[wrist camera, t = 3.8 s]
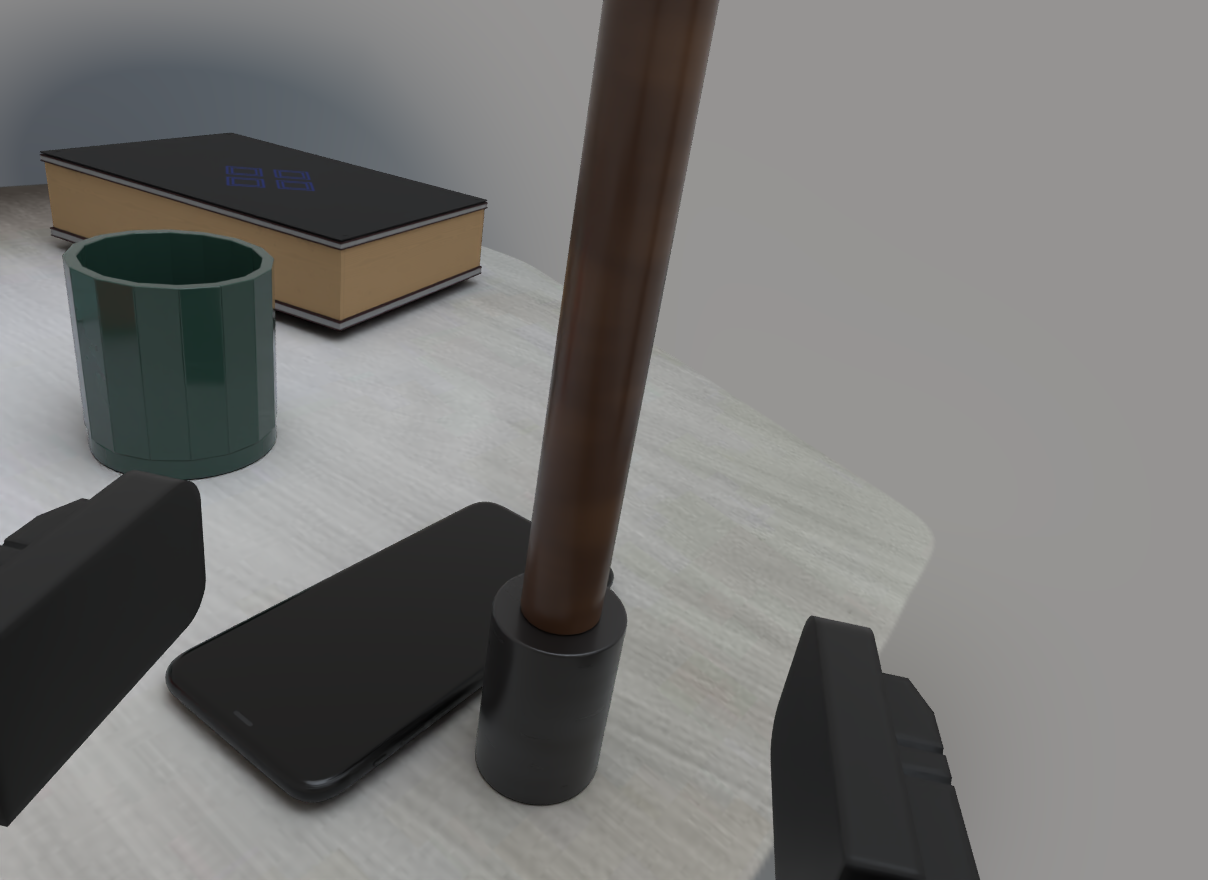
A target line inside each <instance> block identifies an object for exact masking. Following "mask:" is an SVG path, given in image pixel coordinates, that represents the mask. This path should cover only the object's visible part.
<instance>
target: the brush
mask: <svg viewBox="0 0 1208 880" xmlns="http://www.w3.org/2000/svg"><path fill="white" fill-rule="evenodd" d="M718 3H719V0H603V5H602V14H601V20H600V27H599V35H598V42H597V49H596V56H595V63H594V71H593V78H592V85H591V93H590V100H589V107H588V115H587V122H586V130H585V136H584V144H583V151H582V158H581V165H580V173H579V180H578V187H577V195H576V202H575V209H574V216H573V224H572V231H571V238H570V245H569V253H568V260H567V267H566V274H565V282H564V289H563V296H562V303H561V311H560V318H559V325H558V333H557V340H556V347H555V354H554V362H553V369H552V376H551V384H550V391H549V398H548V405H547V413H546V420H545V427H544V434H543V442H542V449H541V456H540V464H539V471H538V478H537V485H536V493H535V500H534V507H533V514H532V522H531V529H530V536H529V544H528V551H527V558H526V565H525V573H523V574H521V575H518V576H516V577H514V578H512V579H510V580H509V581H507V582H506V583H505V584H504V585H503V586H502V587H501V588H500V589H499V590H498V592H497V594H496V595H495V597H494V600H493V605H492V613H491V622H490V630H489V639H488V647H487V655H486V664H485V672H484V680H483V689H482V697H481V706H480V714H479V722H478V731H477V739H476V748H475V756H476V762H477V765H478V768H479V770H480V772H481V774H482V775H483V777H484V779H485V780H486V781H487V782H488V783H489V784H490V785H491V786H492V787H493V788H494V789H495V790H497V791H498V792H499V793H501V794H503V795H504V796H506V797H508V798H511V799H513V800H515V801H519V802H522V803H527V804H536V805H545V804H554V803H558V802H562V801H565V800H567V799H570V798H572V797H573V796H575V795H577V794H578V793H580V792H581V791H582V790H583V789H584V788H585V787H586V786H587V785H588V784H589V783H590V781H591V780H592V778H593V776H594V774H595V772H596V769H597V765H598V760H599V755H600V750H601V746H602V741H603V736H604V731H605V727H606V722H607V717H608V712H609V708H610V703H611V698H612V693H613V689H614V684H615V679H616V675H617V670H618V665H619V660H620V656H621V651H622V646H623V641H624V637H625V632H626V627H627V614H626V611H625V608H624V606H623V604H622V602H621V600H620V599H619V598H618V596H617V595H616V594H615V593H614V592H613V591H612V590H610V589H609V588H608V587H607V582H608V576H609V571H610V566H611V561H612V556H613V550H614V545H615V540H616V535H617V530H618V524H619V519H620V514H621V509H622V504H623V498H624V493H625V488H626V483H627V478H628V472H629V467H630V462H631V457H632V452H633V446H634V441H635V436H636V431H637V426H638V420H639V415H640V410H641V405H642V400H643V394H644V389H645V384H646V379H647V374H648V368H649V363H650V358H651V353H652V348H653V342H654V337H655V332H656V327H657V322H658V316H659V311H660V306H661V301H662V296H663V290H664V285H665V280H666V275H667V270H668V264H669V259H670V254H671V249H672V243H673V238H674V233H675V227H676V223H677V218H678V212H679V207H680V202H681V197H682V192H683V186H684V181H685V176H686V171H687V166H688V160H689V155H690V150H691V145H692V140H693V134H694V129H695V124H696V119H697V114H698V108H699V103H700V98H701V93H702V88H703V82H704V77H705V72H706V66H707V61H708V56H709V51H710V46H711V41H712V35H713V30H714V25H715V20H716V15H717V9H718Z"/></svg>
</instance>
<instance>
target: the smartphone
mask: <svg viewBox="0 0 1208 880" xmlns="http://www.w3.org/2000/svg"><path fill="white" fill-rule="evenodd" d="M530 529H531V521H529V520H527V519H525V518H524V517H522V516H520V515H518V514H516V513H514V512H512V511H511V510H509V509H507V508H505V507H503V506H501V505H498V504H496V503H492V502H478V503H474V504H472V505H469V506H467V507H465V508H463V509H461V510H459V511H457V512H455V513H453V514H451V515H449V516H448V517H446V518H444V519H442V520H440V521H438V522H436V523H434V524H432V525H430V526H428V527H426V528H424V529H422V530H420V531H418V532H416V533H414V534H412V535H411V536H409V537H407V538H405V539H403V540H401V541H399V542H397V543H395V544H393V545H391V546H389V547H387V548H385V549H383V550H381V551H379V552H377V553H375V554H374V555H372V556H370V557H368V558H366V559H364V560H362V561H360V562H358V563H356V564H354V565H352V566H350V567H348V568H346V569H344V570H342V571H340V572H338V573H337V574H335V575H333V576H331V577H329V578H327V579H325V580H323V581H321V582H319V583H317V584H315V585H313V586H311V587H309V588H307V589H305V590H303V591H302V592H300V593H298V594H296V595H294V596H292V597H290V598H288V599H286V600H284V601H282V602H280V603H278V604H276V605H274V606H272V607H270V608H268V609H266V610H265V611H263V612H261V613H259V614H257V615H255V616H253V617H251V618H249V619H247V620H245V621H243V622H241V623H239V624H237V625H235V626H233V627H231V628H229V629H228V630H226V631H224V632H222V633H220V634H218V635H216V636H214V637H212V638H210V639H208V640H206V641H204V642H202V643H200V644H198V645H196V646H194V647H192V648H191V649H189V650H187V651H185V652H184V653H182V654H180V655H179V656H178V657H176V658H175V659H174V660H173V661H172V662H171V664H170V665H169V667H168V668H167V671H166V677H165V678H166V684H167V687H168V689H169V690H170V692H171V693H172V694H173V695H174V696H175V697H176V698H177V699H178V700H179V701H180V702H182V703H183V704H184V705H185V706H186V707H187V708H188V709H190V710H191V711H192V712H193V713H194V714H195V715H196V716H198V717H199V718H200V719H201V720H202V721H203V722H204V723H206V724H207V725H208V726H209V727H210V728H211V729H212V730H214V731H215V732H216V733H217V734H218V735H219V736H221V737H222V738H223V739H224V740H225V741H226V742H227V743H229V744H230V745H231V746H232V747H233V748H234V749H236V750H237V751H238V752H239V753H240V754H241V755H243V756H244V757H245V758H246V759H247V760H248V761H249V762H251V763H252V764H253V765H254V766H255V767H256V768H258V769H259V770H260V771H261V772H262V773H263V774H265V775H266V776H267V777H268V778H269V779H270V780H272V781H273V782H274V783H275V784H276V785H277V786H279V787H280V788H281V789H282V790H283V791H285V792H286V793H287V794H288V795H290V796H291V797H293V798H295V799H297V800H300V801H304V802H311V803H314V802H321V801H325V800H328V799H330V798H332V797H334V796H336V795H338V794H340V793H341V792H343V791H344V790H346V789H347V788H348V787H350V786H351V785H352V784H354V783H355V782H356V781H358V780H359V779H360V778H362V777H363V776H364V775H366V774H367V773H368V772H370V771H371V770H372V769H373V768H375V767H376V766H377V765H379V764H380V763H381V762H383V761H384V760H385V759H387V758H388V757H389V756H391V755H392V754H393V753H395V752H396V751H397V750H398V749H400V748H401V747H402V746H404V745H405V744H406V743H408V742H409V741H410V740H412V739H413V738H414V737H416V736H417V735H418V734H420V733H421V732H422V731H424V730H425V729H426V728H427V727H429V726H430V725H431V724H433V723H434V722H435V721H437V720H438V719H439V718H441V717H442V716H443V715H445V714H446V713H447V712H449V711H450V710H451V709H453V708H454V707H455V706H456V705H458V704H459V703H460V702H462V701H463V700H464V699H466V698H467V697H468V696H470V695H471V694H472V693H474V692H475V691H476V690H478V689H479V688H480V687H482V686H483V680H484V672H485V664H486V655H487V647H488V639H489V630H490V622H491V613H492V605H493V600H494V597H495V595H496V594H497V592H498V590H499V589H500V588H501V587H502V586H503V585H504V584H505V583H506V582H507V581H509V580H510V579H512V578H514V577H516V576H518V575H521V574H523V573H525V565H526V558H527V551H528V544H529V536H530ZM613 579H614V574H613V571H612V569H611V568H610V571H609V576H608V582H607V587H608V588H610V587H611V585H612V583H613Z"/></svg>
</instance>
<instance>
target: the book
mask: <svg viewBox="0 0 1208 880" xmlns="http://www.w3.org/2000/svg"><path fill="white" fill-rule="evenodd" d="M40 152H41V153H44V154H40V155H41V161H44V162H45V167H46V175H47V182H48V189H49V197H50V204H51V211H52V219H53V226H54V227H51V228H50V229H51V234H52V236H54V237H57V238H60V239H63V240H66V241H69V242H72V243H77V242H80V241H83V240H85V239H88V238H91V237H94V236H98V235H103V234H109V233H116V232H123V231H132V230H164V229H168V230H183V231H196V232H205V233H206V232H207V233H212V234H217V235H222V236H228V237H233V238H237V239H241V240H243V241H246V242H248V243H251V244H254V245H256V246H259V247H261V248H263V249H264V250H265V251H266V252H267V253H269V254H270V255H271V256H272V257H273V258H274V281H275V310H277V311H280V312H283V313H286V314H289V315H292V316H295V317H298V318H301V319H304V320H307V321H310V322H313V323H316V324H319V325H322V326H325V327H328V328H331V329H334V330H337V331H342V330H344V329H347V328H349V327H351V326H354V325H356V324H359V323H361V322H364V321H366V320H369V319H371V318H373V317H376V316H378V315H381V314H383V313H386V312H388V311H391V310H393V309H395V308H398V307H400V306H403V305H405V304H408V303H410V302H413V301H415V300H417V299H420V298H422V297H425V296H427V295H430V294H432V293H435V292H437V291H439V290H442V289H444V288H447V287H449V286H452V285H454V284H457V283H459V282H462V281H464V280H466V279H469V278H471V277H474V276H476V275H479V274H481V266H480V254H481V242H482V232H483V221H484V210H485V209H486V208H487V202H485V201H487V200H485V199H482V198H478V197H474V196H470V195H466V194H462V193H459V192H455V191H451V190H447V189H444V188H440V187H436V186H432V185H428V184H425V183H421V182H417V181H413V180H409V179H406V178H402V177H398V176H394V175H390V174H387V173H383V172H379V171H375V170H371V169H367V168H364V167H360V166H356V165H352V164H349V163H345V162H341V161H337V160H333V159H330V158H326V157H322V156H318V155H314V154H310V153H306V152H303V151H299V150H295V149H292V148H288V147H284V146H280V145H276V144H273V143H269V142H265V141H261V140H257V139H253V138H250V137H246V136H242V135H238V134H234V133H223V134H213V135H202V136H192V137H182V138H172V139H161V140H151V141H141V142H131V143H121V144H110V145H101V146H90V147H80V148H70V149H60V150H49V151H40Z"/></svg>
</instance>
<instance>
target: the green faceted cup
mask: <svg viewBox="0 0 1208 880" xmlns="http://www.w3.org/2000/svg"><path fill="white" fill-rule="evenodd" d="M62 258H63V266H64V273H65V281H66V288H67V296H68V303H69V311H70V318H71V326H72V333H73V340H74V348H75V355H76V363H77V370H78V378H79V385H80V393H81V400H82V408H83V415H84V423H85V426H86V428H87V434H88V441H89V447H90V450H91V452H92V454H93V455H94V457H95V458H96V459H97V460H98V461H99V462H101V463H102V464H104V465H105V466H107V467H109V468H111V469H113V470H116V471H118V472H121V473H124V474H125V473H126V472H129V471H131V470H139V471H143V472H148V473H153V474H157V475H162V476H167V477H171V478H176V479H181V480H186V479H198V478H205V477H211V476H216V475H220V474H225V473H228V472H232V471H235V470H238V469H240V468H243V467H245V466H247V465H249V464H252V463H254V462H255V461H257V460H258V459H260V458H262V457H263V456H264V455H265V454H267V453H268V451H269V450H270V449H271V448H272V447H273V445H274V443H275V440H276V437H277V435H276V417H277V380H276V330H275V281H274V258H273V257H272V256H271V255H270V254H269V253H267V252H266V251H265V250H264V249H263V248H261V247H259V246H256V245H254V244H251V243H248V242H246V241H243V240H241V239H237V238H233V237H228V236H222V235H217V234H212V233H207V232H206V233H205V232H196V231H183V230H168V229H164V230H132V231H123V232H116V233H109V234H103V235H98V236H94V237H91V238H88V239H85V240H83V241H80V242H77V243H74V244H72V245H71V246H70V247H69V249H68V250H67V251H66V252H65V253H64V254H63V256H62Z"/></svg>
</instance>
